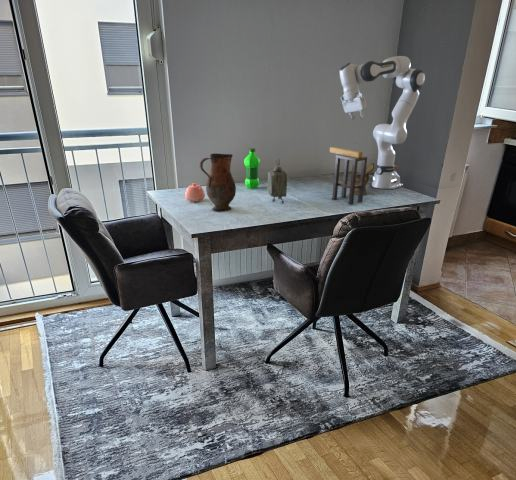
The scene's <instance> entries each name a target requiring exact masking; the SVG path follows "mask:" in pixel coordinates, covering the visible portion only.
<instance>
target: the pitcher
mask: <svg viewBox="0 0 516 480" xmlns="http://www.w3.org/2000/svg"><path fill="white" fill-rule="evenodd" d="M233 156H234V155H233V154H232V153H231V154H229V153H211V154H210V155H209V157H204V158H201V160H200V163H199V168H200V170H201V171H202V172H203V173H204V174H205V175H206V176H207V177H208V179H207V181H206V185H205V186H206V187H205V191H206V195H207V197H208V199H209V201H210V202H211V203H212V204H213V205H214V206H213V207H212V210H213V211H214V212H228V211H230V210H231V209H232V207H231V206H230V204H231V203H232V201H234V198H235V197H236V192H237V186H236V182H235V180H234V177H233V175H232V172H231V164H232V159H233ZM207 160H209V161H210V171H209V173H207V172H206V170H205V169H204V166H203V165H204V163H205V161H207Z"/></svg>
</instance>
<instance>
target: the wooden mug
mask: <svg viewBox="0 0 516 480" xmlns="http://www.w3.org/2000/svg"><path fill="white" fill-rule="evenodd" d="M374 168H375V164H374V162H373V163H371V164H369V165H368V166H366V174H365V182H364V191H363V196H364V195H366V194H367V185H368V182H369V179H370V174H371V173H372V171H374ZM360 176H361V174H356V182H355V185H360ZM354 195H357V196H358V195H359V188H355V192H354Z"/></svg>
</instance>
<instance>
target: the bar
mask: <svg viewBox="0 0 516 480" xmlns="http://www.w3.org/2000/svg"><path fill="white" fill-rule="evenodd" d="M329 153H331V154H335V155H340V154H341V155H346V156H351V157H356V158H361V157H362V156H363V151H359V150H355V149H348V148H344V147H337V146H329Z"/></svg>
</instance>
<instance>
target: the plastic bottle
mask: <svg viewBox="0 0 516 480" xmlns="http://www.w3.org/2000/svg"><path fill="white" fill-rule="evenodd" d="M248 152H249V154H248V155H247V156H246V157H245V158H244V159H243V164H244V166H245V180H244V184H245V186H246V187H247V188H248V189H249V190H254V189H257V188H258V187H259V186H260V179H259V167H260V164H261V159H260V158H259V156H258V155H256V154H255V152H256V148H255V147H250V148H248Z"/></svg>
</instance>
